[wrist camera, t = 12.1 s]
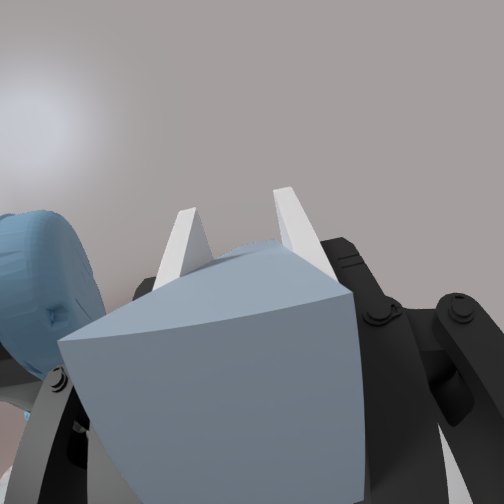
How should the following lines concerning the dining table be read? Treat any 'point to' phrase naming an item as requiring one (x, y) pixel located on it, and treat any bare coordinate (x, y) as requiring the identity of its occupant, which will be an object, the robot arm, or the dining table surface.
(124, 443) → the bar
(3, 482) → the dining table surface
